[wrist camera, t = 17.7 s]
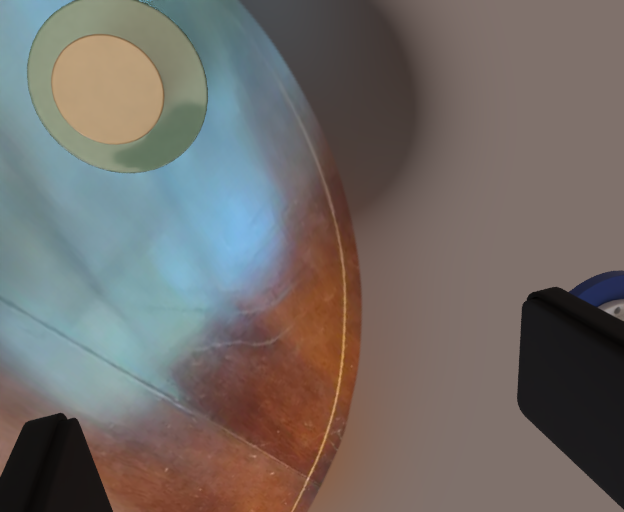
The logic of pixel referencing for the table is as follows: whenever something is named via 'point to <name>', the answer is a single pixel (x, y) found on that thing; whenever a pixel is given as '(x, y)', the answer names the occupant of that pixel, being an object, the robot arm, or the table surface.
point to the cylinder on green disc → (117, 84)
